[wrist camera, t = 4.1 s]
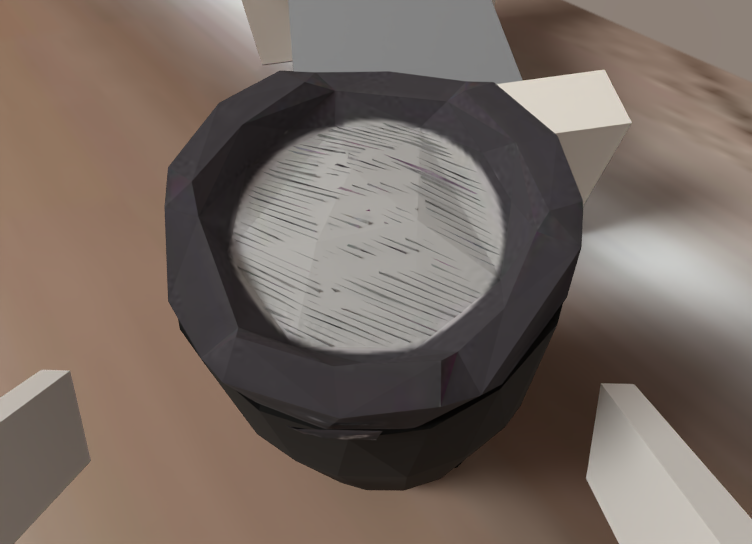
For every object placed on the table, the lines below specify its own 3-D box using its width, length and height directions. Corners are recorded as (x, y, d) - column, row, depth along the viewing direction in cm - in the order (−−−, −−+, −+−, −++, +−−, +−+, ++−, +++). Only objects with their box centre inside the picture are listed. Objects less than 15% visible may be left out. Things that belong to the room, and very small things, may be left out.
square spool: (564, 238, 30) (631, 122, 21) (268, 279, 30) (210, 180, 21) (483, 19, 40) (506, -122, 31) (261, 48, 40) (220, -85, 31)
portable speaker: (288, 369, 27) (82, 108, 10) (437, 313, 28) (493, -10, 11) (333, 528, 23) (129, 563, 6) (505, 456, 24) (756, 310, 7)
